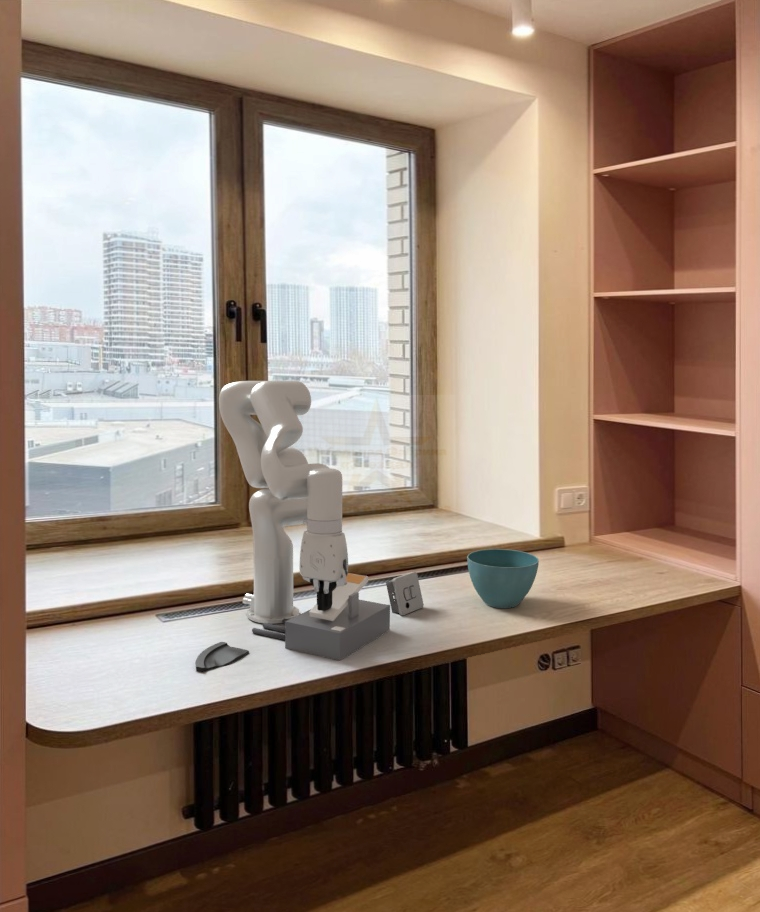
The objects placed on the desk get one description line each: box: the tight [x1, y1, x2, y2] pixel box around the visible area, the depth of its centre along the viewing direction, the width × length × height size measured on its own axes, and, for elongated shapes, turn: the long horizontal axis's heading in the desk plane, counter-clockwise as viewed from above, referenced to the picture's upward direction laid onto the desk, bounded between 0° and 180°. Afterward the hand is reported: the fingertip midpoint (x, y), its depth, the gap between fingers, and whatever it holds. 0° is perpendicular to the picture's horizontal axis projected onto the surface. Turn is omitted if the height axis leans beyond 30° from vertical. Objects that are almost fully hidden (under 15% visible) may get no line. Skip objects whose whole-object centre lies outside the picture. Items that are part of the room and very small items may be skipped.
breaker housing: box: [284, 592, 391, 661], centre depth 183 cm, size 14×22×11 cm, turn 151°
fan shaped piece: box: [195, 641, 250, 673], centre depth 171 cm, size 8×14×2 cm, turn 153°
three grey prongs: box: [251, 619, 289, 641], centre depth 188 cm, size 12×10×1 cm
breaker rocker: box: [309, 572, 369, 621], centre depth 183 cm, size 6×16×1 cm, turn 151°
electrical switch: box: [385, 571, 424, 616], centre depth 205 cm, size 9×5×9 cm, turn 141°
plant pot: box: [466, 548, 540, 609], centre depth 211 cm, size 18×18×12 cm
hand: (324, 609), depth 177 cm, fingers closed
